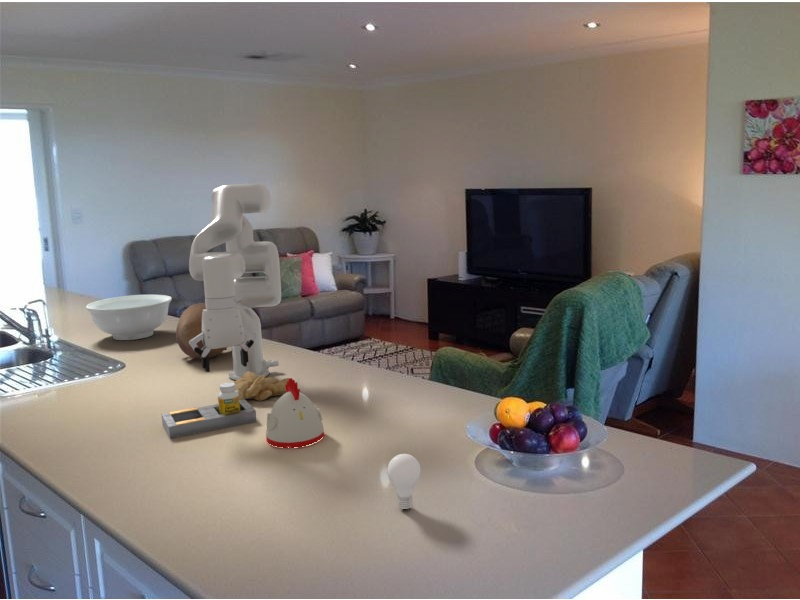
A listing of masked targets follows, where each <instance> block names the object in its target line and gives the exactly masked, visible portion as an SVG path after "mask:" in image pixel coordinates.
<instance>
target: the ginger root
mask: <svg viewBox="0 0 800 600" xmlns="http://www.w3.org/2000/svg"><path fill="white" fill-rule="evenodd" d="M289 379H290V377H287V378H283V379H281V380H279V379H278V378H273V377H271V376H270V377H266V376H265V375H263V376H261V377H260V376H257V375H256V374H255V373H253V372H246V373H245V374H244V375H242V378H240V379H238V380H234V382H233V383H235V387H236V388H235V390H236V391H237V392H238V393H239V400H244V399H245V400H246V399H250V400H256V401H260V402H262V401H265V400H266V399H268V398H270V397H272V396H273V397H274V396H280V395H281V396H282V395H284V394H285V393H287V392H286V387H285V385H286V384H287V381H289Z"/></svg>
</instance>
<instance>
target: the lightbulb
mask: <svg viewBox="0 0 800 600" xmlns="http://www.w3.org/2000/svg"><path fill="white" fill-rule="evenodd" d="M421 469H422V468H421V464H420V463H419V461H418V459H417V458H416V457H415V456H413V455H411V454H409V453H399V454H396V455H395V456H393V457H392V459H390V461H389V462H388V464H387V469H386V471H387V472H386V473H387V478H388V480H389V481H390V482H391V484H392V486H394V489H395V492H396V495H397V502H398V506H397V507H398V508H399V509H400V508H401V510H403V509H408V510H410V509H412V507H413V493H414V490H415V486H416V485H417V483H418V481H419V480H420V477H421V475H422V470H421ZM409 508H410V509H409Z"/></svg>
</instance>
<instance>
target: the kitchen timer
mask: <svg viewBox="0 0 800 600" xmlns="http://www.w3.org/2000/svg"><path fill="white" fill-rule="evenodd" d="M289 378H290V377H289ZM285 387H286V393H284V394H281V396H280V397H279V398H278V399H277V400H276V402H275V404H274V405H273V407H272V408H271V411H270V413H269V412H268V413H267V416H266V432H265V433H266V434H265V436H266V437H265V438H266V442H268V443H269V444H271V445H273V446H277V447H283V448H288V447H289V448H294V447H302V446H306V445H309V444H312V443H314V442H317V441H318V440H320V439H321V438H322V437H323V436H324V437H325V431H324V430H325V428H324V424H323V417H322V413H321V409H320V408H317V407H316V405H315V404H314V403H313V402H312V401H311V399H310V398H309V397H308V396H306V395H305V394H303V393H302V392H301V389H300V388H299V386H298V381H297V382H295V379H293V378H292V377H291V378H290V379H289V381H287V384H286V385H285ZM268 443H267V444H268ZM269 444H268V445H269Z"/></svg>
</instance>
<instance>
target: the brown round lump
mask: <svg viewBox="0 0 800 600" xmlns="http://www.w3.org/2000/svg"><path fill="white" fill-rule="evenodd" d="M204 309H206V303H205V302H198V303H194V304H191V305H190V306H188V307H187V308H186V309H184V311H183V312H182V314H181V315H180V317H179V319H178V321H177V325H176V331H175V333H176V334H175V335H176V337H175V341H176V342H175V343H176V344H178V347H179V348H180V350H181V351H182V352H183V353H184V354H185V355H186V356H188V357H190V358H192V359H193V358H194V359H201V355H199V354H198V353H197V352H195V351H194V349H193V348H192V347H191V345H190V344H189V341H190V340H191V339H193V338H194V337H196V336H197V335H199V334H201V333H202V312H203V310H204ZM197 346H198V348H200V349H201V350H202V348H203V347H204V345H203V343H202V340H200V341H199V342H197ZM227 349H228V347H224V348H217V349H211V350H210V351H209V353H208V354H207V356H208V357H209V359H212V358H214V357H217V356H220V354H222V353H223V352H224V351H226V350H227Z"/></svg>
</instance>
